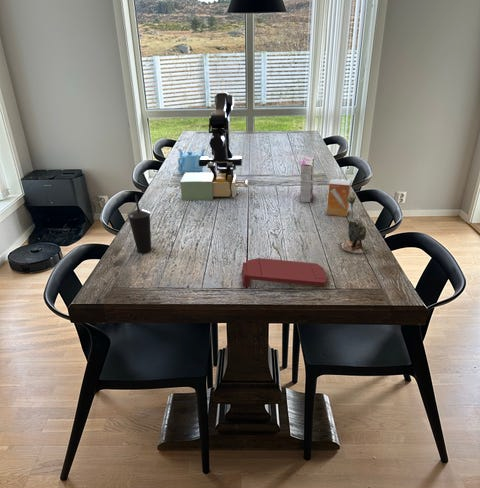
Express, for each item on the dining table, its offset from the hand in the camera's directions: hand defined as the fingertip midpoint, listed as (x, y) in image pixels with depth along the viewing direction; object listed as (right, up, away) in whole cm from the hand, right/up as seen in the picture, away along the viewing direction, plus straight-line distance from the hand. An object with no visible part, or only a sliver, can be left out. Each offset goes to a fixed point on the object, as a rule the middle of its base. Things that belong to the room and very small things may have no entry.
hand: (221, 180), depth 203 cm
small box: (+48, -18, -19) cm, 55 cm away
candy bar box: (+38, -9, -4) cm, 39 cm away
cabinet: (-10, -6, +4) cm, 12 cm away
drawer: (+3, -5, +3) cm, 6 cm away
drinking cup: (-25, -35, -44) cm, 62 cm away
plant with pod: (+47, -36, -49) cm, 77 cm away
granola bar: (0, -1, 0) cm, 1 cm away
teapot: (-17, +14, +38) cm, 44 cm away
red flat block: (+22, -46, -64) cm, 82 cm away
